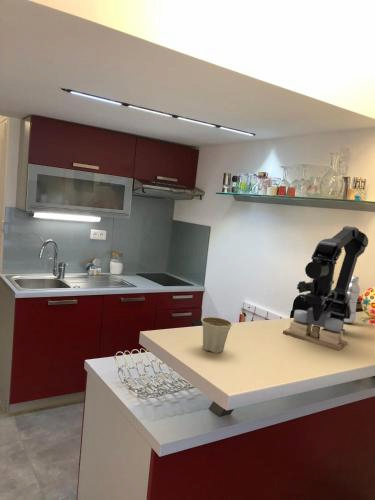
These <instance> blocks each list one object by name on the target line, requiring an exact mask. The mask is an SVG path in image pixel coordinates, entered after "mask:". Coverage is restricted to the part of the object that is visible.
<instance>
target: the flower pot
mask: <svg viewBox="0 0 375 500" xmlns="http://www.w3.org/2000/svg"><path fill="white" fill-rule="evenodd" d="M200 321H201V326H202V348H203V349H204V350H205V351H210V352H212V353H221V352H223V351H224V348H225V345H226V342H227V338H228V334H229V333H230V332H229V331H230V330H231V327H232V326H233V323H232V321H230V320H228V319H225V318H222V317H217V316H216V317H215V316H205V317H202V318H201V319H200Z"/></svg>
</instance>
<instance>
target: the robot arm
mask: <svg viewBox="0 0 375 500" xmlns="http://www.w3.org/2000/svg"><path fill="white" fill-rule="evenodd" d="M368 245H369V238H368V235H366V234H365V233H364V232H362V231H360V230H359V228H357V227H355V226H349V225H348V226H343V228H342V230H340V231H339V232H337V233H336V234H335V235H333V236H332V237H331V238H324V239H322V240H320V241H319V242H318V243H317V244H316V247H315V249H314V251H313V253H312V256H311V258H310V259H311V260H312V261H310V262H308V263H307V264H306V265H305V268H304V271H305V275H306V276H307V277H308V278H309V279H312V281H310V282H307V281H305V280H303V281H299V282H298V284H296V285H297V287H296V289H297V290H298V293H299V294H302V293H306V292H309V293H306V294H305V295H304V298H303V302H306V303H308V304H310V306H311V308H312V310H313V318H314V321H317V320H318V319H319V317H320V315H321V313H322V312H323V311H327V312H331V313H330V318H335V319H339V320H341V321H343V325H342V331H343V333H345V332H346V329H344V324H345V322H344V319H350V316H351V309H350V305H349V301H350V299H349V296H348V293H347V292H348V289H349V285H350V282H351V279H352V276H354V272H355V271H354V270H355V267H356V264H357V261H358V259H359V257H360V256H361V255H362V254H364V252H365V251H366V248H367V247H368ZM342 249H343V250H344V254H345V255H344V257H343V261H342V263H341V267H340V271H339V274H338V276H337V280H336V284H335V287H334V288H333V289H332V287H333V285H334V283H335V280H334V276H335V275H334V274H335V268H336V265H337V264H338V263H337V261H338V260H339V258H340V257H341V255H342V252H343V250H342Z"/></svg>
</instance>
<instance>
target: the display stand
mask: <svg viewBox="0 0 375 500" xmlns="http://www.w3.org/2000/svg"><path fill="white" fill-rule="evenodd" d="M282 334H284V335H286V336H290V337H292V338H293V337H294V338H297V339H301V340H303V341H305V342H306V341H307V342H311V343H314V344H316V345H320V346H323V347H327V348H330V349H333V350H335V351H336V350H338V351H340V350H342V349H343V348H344V347H345V346H346V345H348V340H344V339H343V334H344V332H343V331H331V330H328V329H325V328H323V327H322V329H321V327H319V326H316V325H312V324H309V323H303V322H299V321H296V320H294V319H293V320H292V321H290V323H289V327H288V328H286V329H284V330H282Z"/></svg>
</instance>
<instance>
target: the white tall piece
mask: <svg viewBox="0 0 375 500" xmlns="http://www.w3.org/2000/svg"><path fill="white" fill-rule="evenodd" d="M347 293H348V296H349V299H350V301H349V305H350V309H351V316H350V319H344V324H353V323H355V322H356V320H357V314H356V313H357V304H358V298H359V296H360V293H361V288H360V285H359V276H355V275H352V279H351V282H350V285H349V289H348V292H347Z"/></svg>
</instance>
